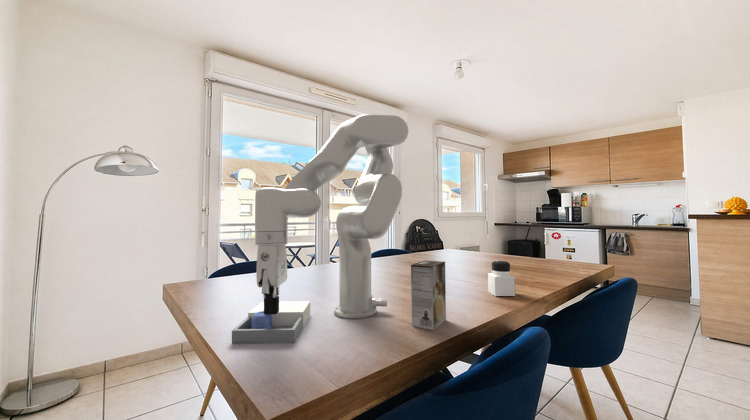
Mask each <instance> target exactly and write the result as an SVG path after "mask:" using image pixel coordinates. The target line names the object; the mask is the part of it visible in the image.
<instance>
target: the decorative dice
mask: <svg viewBox="0 0 750 420" xmlns="http://www.w3.org/2000/svg"><path fill="white" fill-rule="evenodd" d="M271 325H272V314H264V311H260V312H256V313H255V314H254V315H253V317H252V323H251V326H252V329H271Z"/></svg>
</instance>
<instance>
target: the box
mask: <svg viewBox="0 0 750 420" xmlns="http://www.w3.org/2000/svg"><path fill="white" fill-rule="evenodd" d="M303 328H304V327H303V316H300V317H299V318H298V320H297V321H296V323H295V324H294V326H271V329H252V326H251V317H248V316H247V317H246V318H245V319H244V320H242V321H241V322H240V323H238V325H237V326H235V327H234V328H233V329H232V330H231V345H251V344H252V345H259V344H260V345H261V344H267V345H268V344H295V343H296V341H297V339H298V338H299V335H301V333H302V331H303Z"/></svg>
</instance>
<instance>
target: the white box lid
mask: <svg viewBox="0 0 750 420" xmlns="http://www.w3.org/2000/svg"><path fill="white" fill-rule="evenodd" d="M260 311H264V301H261V302H259V303H258V304H257V305H255V307H253V308H252V309H251V310H250V311H249V312H247V317H251V323H252V317H253V315H254V314H255V313H256V312H260ZM300 316H303V328H304V327H305V325H306V323H307V322H308V320H309V318H310V317H311V300H303V301H302V300H296V301H295V300H294V301H291V300H290V301H281V300H279V312H278V313H277V314H272V325H271V326H294V324H295V323H296V321H297V320H298V318H299V317H300Z"/></svg>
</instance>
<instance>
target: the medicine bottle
mask: <svg viewBox="0 0 750 420" xmlns="http://www.w3.org/2000/svg"><path fill="white" fill-rule="evenodd" d="M510 273H511V264H510V262H508V261H506V260H495V261H492V262H491V272H489V273H487V292H488V293H489V294H490V295H491V296H493V295H494V296H493V297H495V296H515V297H516V277H515V276H514V275H512V274H510Z"/></svg>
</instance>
